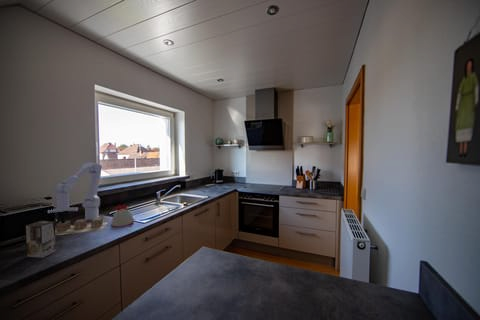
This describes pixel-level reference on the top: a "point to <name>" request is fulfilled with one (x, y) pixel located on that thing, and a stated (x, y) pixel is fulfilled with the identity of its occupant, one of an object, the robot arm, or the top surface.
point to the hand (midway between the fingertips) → (63, 222)
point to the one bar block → (80, 224)
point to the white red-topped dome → (122, 217)
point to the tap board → (81, 229)
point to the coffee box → (40, 239)
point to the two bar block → (96, 222)
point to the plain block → (62, 226)
